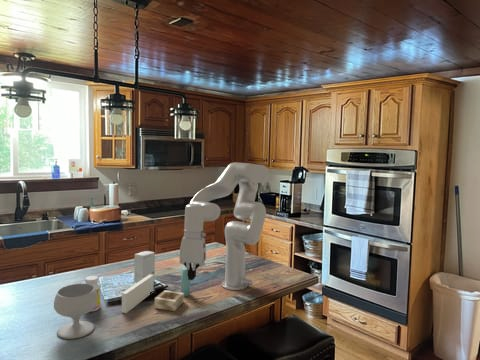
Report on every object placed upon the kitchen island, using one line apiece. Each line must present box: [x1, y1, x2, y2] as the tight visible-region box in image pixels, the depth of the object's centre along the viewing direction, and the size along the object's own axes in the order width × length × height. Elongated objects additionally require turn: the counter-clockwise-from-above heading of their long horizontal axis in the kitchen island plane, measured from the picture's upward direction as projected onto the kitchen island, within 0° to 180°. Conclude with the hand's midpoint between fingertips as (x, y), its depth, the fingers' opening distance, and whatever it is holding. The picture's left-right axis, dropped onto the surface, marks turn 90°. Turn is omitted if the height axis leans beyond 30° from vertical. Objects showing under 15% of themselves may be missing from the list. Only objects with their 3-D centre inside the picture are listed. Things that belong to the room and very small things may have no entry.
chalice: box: [53, 283, 98, 340], centre depth 125 cm, size 14×14×15 cm
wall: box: [121, 274, 155, 314], centre depth 150 cm, size 2×22×8 cm, turn 166°
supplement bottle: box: [84, 275, 101, 313], centre depth 142 cm, size 7×7×13 cm
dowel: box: [180, 267, 191, 298], centre depth 158 cm, size 4×4×12 cm
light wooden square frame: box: [154, 289, 185, 312], centre depth 147 cm, size 9×9×4 cm
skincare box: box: [133, 250, 156, 283], centre depth 170 cm, size 8×6×15 cm
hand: (191, 278), depth 143 cm, fingers closed
